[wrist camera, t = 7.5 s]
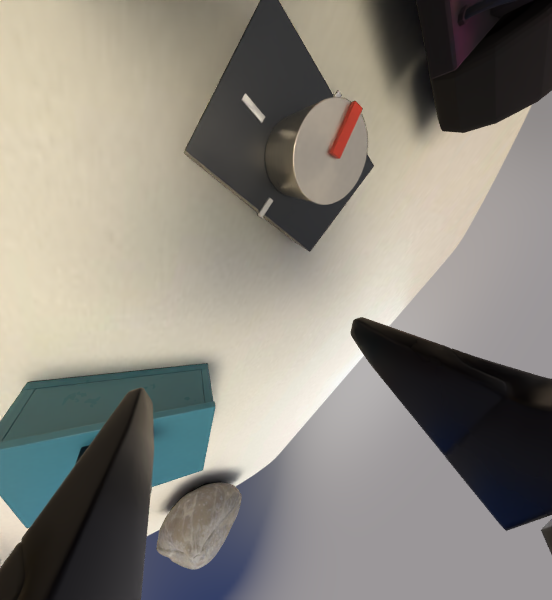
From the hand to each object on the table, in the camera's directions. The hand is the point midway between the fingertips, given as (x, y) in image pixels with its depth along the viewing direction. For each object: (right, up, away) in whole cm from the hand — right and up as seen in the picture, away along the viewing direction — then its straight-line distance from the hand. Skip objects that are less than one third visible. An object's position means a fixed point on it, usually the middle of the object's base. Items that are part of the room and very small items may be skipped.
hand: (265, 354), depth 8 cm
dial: (+2, +12, +5) cm, 13 cm away
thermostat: (+1, +13, +7) cm, 15 cm away
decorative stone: (-14, -40, +35) cm, 55 cm away
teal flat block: (-16, -10, +15) cm, 23 cm away
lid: (-13, -12, +10) cm, 21 cm away
